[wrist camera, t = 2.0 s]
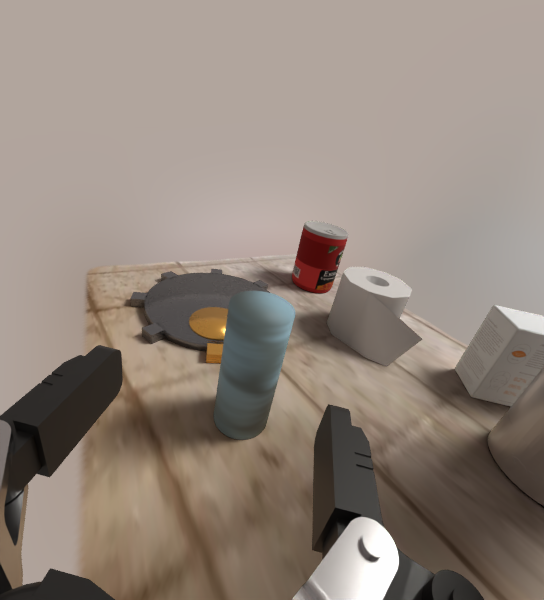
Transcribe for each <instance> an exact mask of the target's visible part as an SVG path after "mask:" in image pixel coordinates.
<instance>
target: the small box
mask: <svg viewBox="0 0 544 600" xmlns="http://www.w3.org/2000/svg"><path fill="white" fill-rule="evenodd" d="M543 367H544V316H541V315H536V314H532V313H527V312H523V311H518V310H514V309H510V308H505V307H501V306H496V305H494V306H493V307H492V309H491V310H490V312H489V313H488V315H487V317H486V318H485V320H484V321H483V323H482V325H481V327H480V328H479V330H478V331H477V333H476V334H475V336H474V338H473V339H472V341H471V343H470V344H469V346H468V347H467V349H466V351H465V352H464V354H463V355H462V357H461V359H460V360H459V362H458V364H457V365H456V367H455V371H456V372H457V374H458V376H459V377H460V379H461V381H462V382H463V384H464V386H465V387H466V389H467V391H468V393H469V394H470V396H471V397H473V398H477V399H481V400H485V401H489V402H494V403H498V404H502V405H506V406H510V407H511V406H512V405H513V404H514V403H515V401H516V400H517V399H518V398H519V396H520V395H521V394H522V393H523V392H524V390H525V389H526V388H527V387H528V385H529V384H530V383H531V382H532V380H533V379H534V378H535V377H536V376H537V374H538V373H539V372H540V371H541V369H542V368H543Z"/></svg>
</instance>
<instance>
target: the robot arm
mask: <svg viewBox="0 0 544 600" xmlns="http://www.w3.org/2000/svg"><path fill="white" fill-rule="evenodd" d="M121 386H122V357H121V352H120V350H117V349H113V348H109V347H105V346H101V345H99V346H96V347H95V348H94V349H93V350H91V351H90V352H89V353H88V354H87V355H86V356H82V355H79V356H77V357H75V358H73V359H71V360H68V361H66V362H64V363H63V364H62V365H61V366H60V367H58V368H57V369H56V370H55V371H53V372H52V375H49V376H47V377H46V378H45V379H44V380H43V381H42V383H41V384H40V383H39V384H38V385H37V386H35V387H34V388H33V389H32V390H31V391H30V392H28V393H27V394H26V395H25V396H24V397H22V398H21V399H20V400H19V401H18V402H16V403H15V404H14V405H13V406H12V407H10V408H9V409H8V410H7V411H6V412H4V413H3V414H2V415H1V416H0V600H115V599H113V598H112V597H111V596H110V595H108V594H107V593H106V592H105V591H103V590H102V589H101V588H99V587H98V586H97V585H96V584H94V583H93V582H92V581H91V580H89V579H86V578H82V577H79V576H75V575H72V574H68V573H65V572H61V571H58V570H54V569H50V570H49V571H48V573H47V574H46V576H45V578H44V579H43V581H42V582H36V583H31V584H26V585H23V586H22V581H23V579H22V577H23V571H22V559H21V550H22V539H23V531H24V521H25V513H26V503H27V495H28V483H29V482H30V480H31V479H32V478H33V477H34V476H35V475H36V474H40V475H43V476H47V477H50V476H51V475H52V474H53V473H54V472H55V470H56V469H57V468H58V467H59V466H60V464H61V463H62V462H63V461H64V459H65V458H66V457H67V456H68V455H69V453H70V452H71V451H72V450H73V448H74V447H75V446H76V445H77V444H78V442H79V441H80V440H81V439H82V438H83V436H84V435H85V434H86V433H87V431H88V430H89V429H90V428H91V427H92V425H93V424H94V423H95V422H96V420H97V419H98V418H99V417H100V416H101V414H102V413H103V412H104V411H105V410H106V408H107V407H108V406H109V405H110V403H111V402H112V401H113V400H114V399H115V397H116V396H117V394H118V393H119V391H120V388H121ZM488 445H489V449H490V452H491V454H492V456H493V458H494V460H495V461H496V462H497V464H498V465H499V467H500V468H501V470H502V471H503V472H504V473H505V474H506V475H507V476H508V477H509V479H510V480H511V481H512V482H513V483H515V484H516V485H517V486H518V487H519V488H520V489H521V490H522V491H523V492H525V493H526V494H527V495H528V496H530V497H531V498H532V499H534V500H535V501H536V502H538V503H540V504H541V505H543V506H544V367H543V368H542V369H541V371H540V372H539V373H538V374H537V376H536V377H535V378H534V379H533V380H532V382H531V383H530V384H529V385H528V387H527V388H526V389H525V390H524V392H523V393H522V394H521V395H520V396H519V398H518V399H517V400H516V401H515V403H514V404H513V405H512V406H511V407H510V408H509V410H508V411H507V412H506V413H505V415H504V416H503V417H502V418H501V420H500V421H499V422H498V423H497V425H496V426H495V427H494V428H493V429H492V431H491V432H490V434H489V436H488ZM312 550H314V551H318V552H321V553H322V559H323V560H322V562H321V563H320V564H319V566H318V567H317V568H316V570H315V571H314V573H313V574H312V575H311V577H310V578H309V579H308V581H307V582H306V583H305V584H304V585H303V586H302V587H301V588H300V589H299V591H298V592H297V593H296V595H295V596H294V597H293V599H292V600H484V599H483V597H482V596H481V594H480V593H479V591H478V590H477V589H476V588H475V587H474V586H473V585H472V584H471V583H470V582H469V581H468V580H467V579H466V578H464V577H463V576H462V575H460V574H458V573H456V572H454V571H451V570H441V571H439V572H438V573H436V574H433V573H432V572H430V571H428V570H427V569H425V568H424V567H422V566H421V565H419V564H418V563H416V562H415V561H413V560H411V559H410V558H408V557H407V556H406V555H404V554H403V553H402V552H401V551H400V550H399V549H398V548H397V547H396V546H395V543H394V541H393V539H392V538H391V536H390V534H389V533H388V532H387V531H386V529H385V528H384V525H383V521H382V517H381V511H380V505H379V499H378V493H377V487H376V481H375V475H374V472H373V464H372V459H371V452H370V446H369V441H368V440H367V438H366V436H365V434H364V432H363V431H362V429H361V428H359V427H355V426H352V425H351V417H350V411H349V409H345V408H341V407H337V406H333V405H330V404H329V405H328V406H327V408H326V410H325V413H324V415H323V418H322V420H321V423H320V425H319V428H318V430H317V433H316V438H315V444H314V479H313V537H312Z"/></svg>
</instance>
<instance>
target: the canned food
mask: <svg viewBox="0 0 544 600" xmlns="http://www.w3.org/2000/svg"><path fill="white" fill-rule="evenodd" d="M347 238H348V232H347V231H345V230H344V229H342V228H340V227H338V226H335V225H332V224H328V223H324V222H318V221H308V222H306V223H305V225H304V227H303V231H302V235H301V239H300V244H299V248H298V252H297V256H296V260H295V265H294V269H293V273H292V280H293V282H294V284H295V285H296V286H298V287H299V288H301V289H303V290H306V291H309V292H313V293H326V292H328V291H329V290H330V289H331V287H332V285H333V282H334V279H335V276H336V273H337V270H338V266H339V263H340V260H341V257H342V254H343V251H344V248H345V245H346V241H347Z"/></svg>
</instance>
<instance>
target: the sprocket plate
mask: <svg viewBox="0 0 544 600" xmlns="http://www.w3.org/2000/svg"><path fill="white" fill-rule="evenodd" d="M267 287H268V284H266V283H264V282H262V281H260V280H259V281H257V282H254V283H253V282H250V281H248V280H245V279H242V278H238V277H234V276H230V275H224V274H222V270H218V269H211V273H190V274H183V275H176V274H175V273H173V272H171V271H170V272H167V273H163V274H161V282H159V283H158V284H156V285H155V286H153V287H152V288H151V289H150V290H149V291H148V293H140V292H133V295H132V297H131V306H133V307H145V317H146V320H147V321H148V323H149V325H148V326H146V327H143V328H142V337H143V338H145V339H146V340H147V341H149V342H150V343H151V344H152V343H155V342H157V341H159V340H161V339H163V338H166V339H168V340H170V341H172V342H174V343H176V344H179V345H182V346H184V347H188V348H192V349H196V350H202V351H207V354H206V363H221V358H222V351H223V344H224V336H225V329H226V322H227V315H228V308H229V301H230V299H231V298H232V297H233V296H234V295H235V294H237V293H240V292H244V291H263V292H268V293H270V292H269V291H267Z"/></svg>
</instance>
